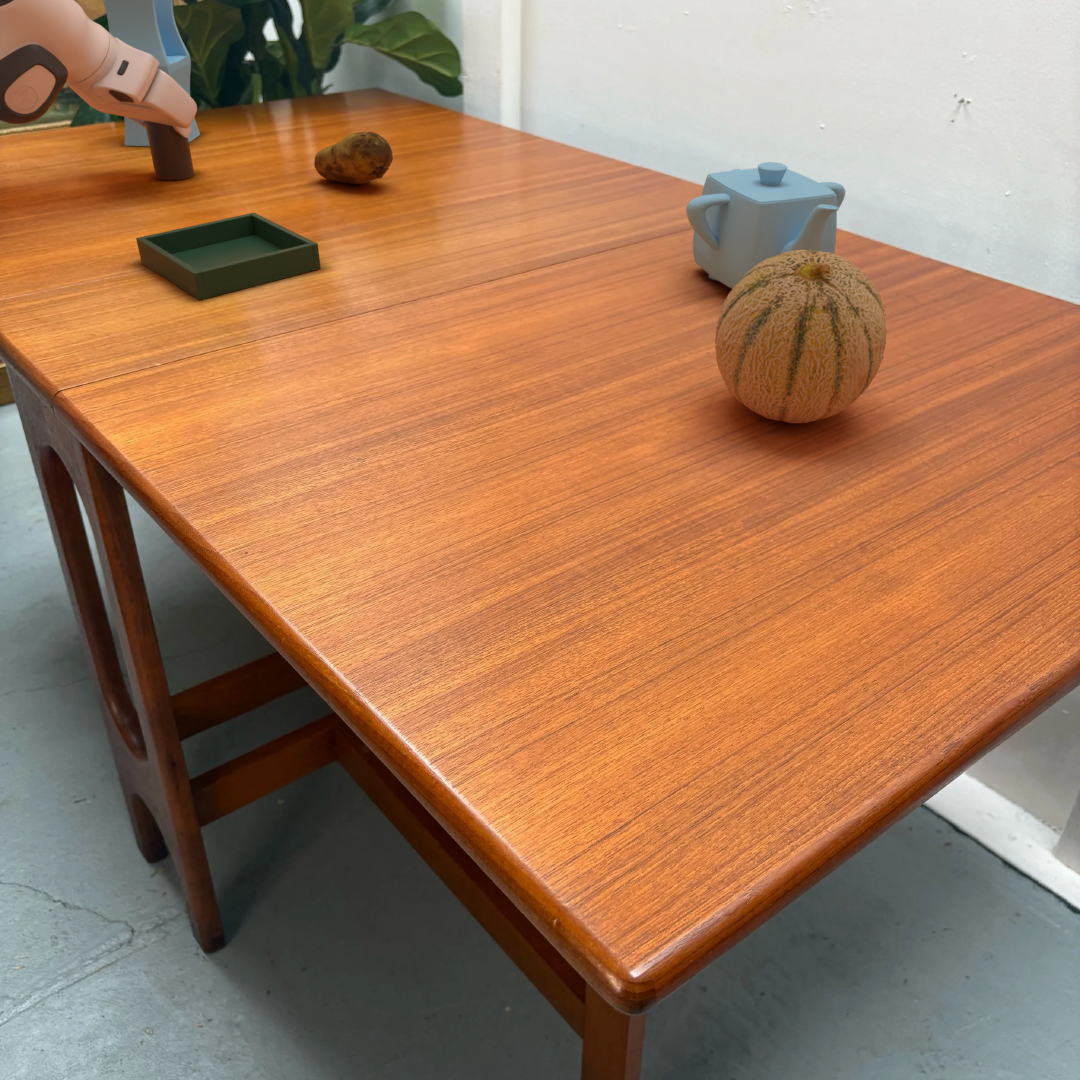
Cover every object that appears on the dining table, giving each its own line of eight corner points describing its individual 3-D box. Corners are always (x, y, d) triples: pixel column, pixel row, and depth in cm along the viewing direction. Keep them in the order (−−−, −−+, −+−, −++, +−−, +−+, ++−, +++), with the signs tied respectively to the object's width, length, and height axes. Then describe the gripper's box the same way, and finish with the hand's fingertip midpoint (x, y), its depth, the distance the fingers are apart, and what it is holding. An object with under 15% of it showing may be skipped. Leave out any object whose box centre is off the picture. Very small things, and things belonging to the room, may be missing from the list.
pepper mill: (165, 182, 151) (147, 90, 144) (149, 174, 155) (131, 83, 147) (200, 176, 154) (185, 85, 147) (184, 168, 158) (168, 79, 150)
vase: (182, 147, 168) (150, -25, 154) (124, 145, 169) (87, -26, 154) (203, 132, 176) (174, -32, 162) (147, 131, 177) (114, -34, 162)
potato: (358, 171, 157) (353, 116, 152) (403, 191, 149) (399, 133, 144) (310, 180, 153) (303, 124, 148) (354, 201, 144) (348, 142, 140)
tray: (199, 300, 114) (194, 273, 112) (141, 263, 123) (135, 237, 122) (320, 268, 122) (317, 243, 120) (257, 236, 132) (254, 212, 130)
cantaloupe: (808, 366, 101) (834, 214, 92) (904, 433, 90) (944, 268, 81) (676, 391, 96) (690, 234, 87) (761, 465, 85) (787, 293, 76)
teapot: (662, 291, 117) (672, 171, 109) (716, 249, 129) (728, 138, 121) (817, 324, 110) (839, 197, 102) (859, 276, 121) (882, 160, 114)
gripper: (41, 80, 143) (114, 139, 155) (140, 97, 134) (209, 158, 146) (60, 40, 143) (132, 102, 156) (160, 56, 135) (227, 120, 147)
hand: (170, 130), depth 151 cm, fingers closed on pepper mill, 5 cm apart
